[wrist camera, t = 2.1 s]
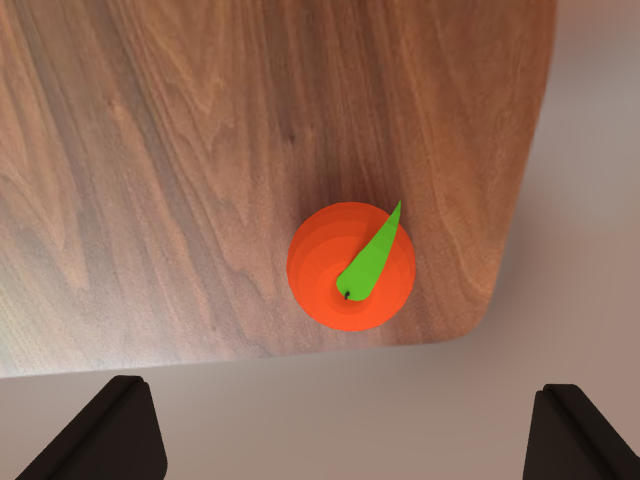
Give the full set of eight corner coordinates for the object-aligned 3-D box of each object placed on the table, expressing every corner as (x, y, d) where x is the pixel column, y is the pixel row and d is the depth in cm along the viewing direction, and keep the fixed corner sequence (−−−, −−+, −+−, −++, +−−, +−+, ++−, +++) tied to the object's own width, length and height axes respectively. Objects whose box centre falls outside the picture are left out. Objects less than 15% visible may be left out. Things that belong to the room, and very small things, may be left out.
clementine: (342, 153, 21) (333, 167, 14) (441, 214, 21) (477, 256, 15) (279, 260, 24) (246, 314, 17) (368, 312, 24) (370, 385, 17)
